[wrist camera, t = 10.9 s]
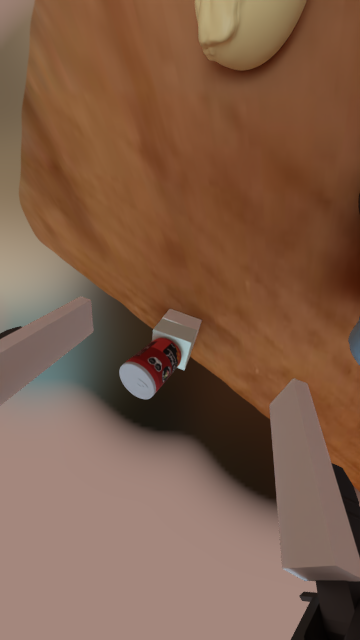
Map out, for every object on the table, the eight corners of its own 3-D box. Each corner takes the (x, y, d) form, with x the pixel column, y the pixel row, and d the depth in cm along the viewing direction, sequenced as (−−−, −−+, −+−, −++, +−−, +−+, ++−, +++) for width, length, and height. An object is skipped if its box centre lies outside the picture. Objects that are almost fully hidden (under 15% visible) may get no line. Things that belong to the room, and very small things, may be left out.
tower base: (202, 319, 48) (197, 330, 44) (193, 344, 53) (188, 356, 49) (169, 308, 49) (162, 317, 45) (164, 333, 55) (157, 344, 51)
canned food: (182, 370, 42) (155, 405, 33) (153, 360, 46) (121, 390, 37) (182, 341, 39) (152, 371, 30) (151, 333, 43) (116, 358, 34)
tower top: (197, 330, 44) (191, 342, 40) (189, 356, 49) (184, 370, 45) (162, 318, 46) (153, 329, 42) (158, 345, 51) (150, 357, 47)
